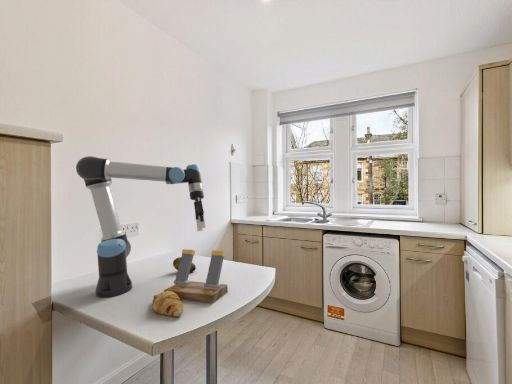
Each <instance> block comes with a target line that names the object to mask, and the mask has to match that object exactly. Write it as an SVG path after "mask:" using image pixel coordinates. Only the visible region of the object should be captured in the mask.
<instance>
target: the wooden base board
mask: <svg viewBox="0 0 512 384" xmlns="http://www.w3.org/2000/svg"><path fill="white" fill-rule="evenodd" d="M187 281H188V284H187V285H181V284H173V285H171V286H169V287H167V288H165V289H164V291H172V292H175V293H176V294H177V295H178V297H179V298H180V300H184V301H191V302H192V301H193V302H201V303H206V304H207V303H209V304H214V303H215V302H217V301H218V300H219V299H220V298H222V297H223V296H224V295H225V294H227V293H228V284H223V283H219V288H211V287H204V284H205V283H206V282H202V281H192V280H187ZM164 291H163V292H164Z"/></svg>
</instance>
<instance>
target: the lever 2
mask: <svg viewBox="0 0 512 384" xmlns="http://www.w3.org/2000/svg"><path fill="white" fill-rule="evenodd" d="M210 255H211V256H210V262H209V265H208V266H209V267H208V272H207V275H206V280H205V282H204V283H205V284H204V287H211V288H219V284H220V277H221V274H222V273H221V272H222V268H223V267H222V266H223V262H224V257H225V255H226V252H225V251H224V250H211V253H210Z"/></svg>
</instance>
